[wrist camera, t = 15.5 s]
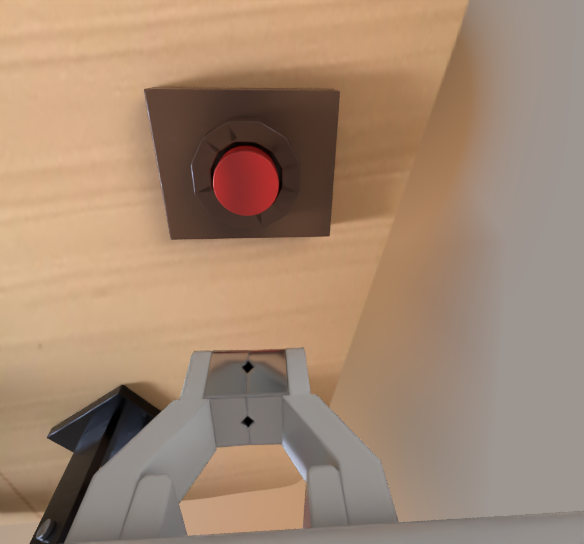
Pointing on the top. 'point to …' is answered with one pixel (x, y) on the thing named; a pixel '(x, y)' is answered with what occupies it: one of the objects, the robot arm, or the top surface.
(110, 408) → the bracket
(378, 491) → the robot arm
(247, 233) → the control block
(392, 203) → the top surface
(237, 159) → the button
